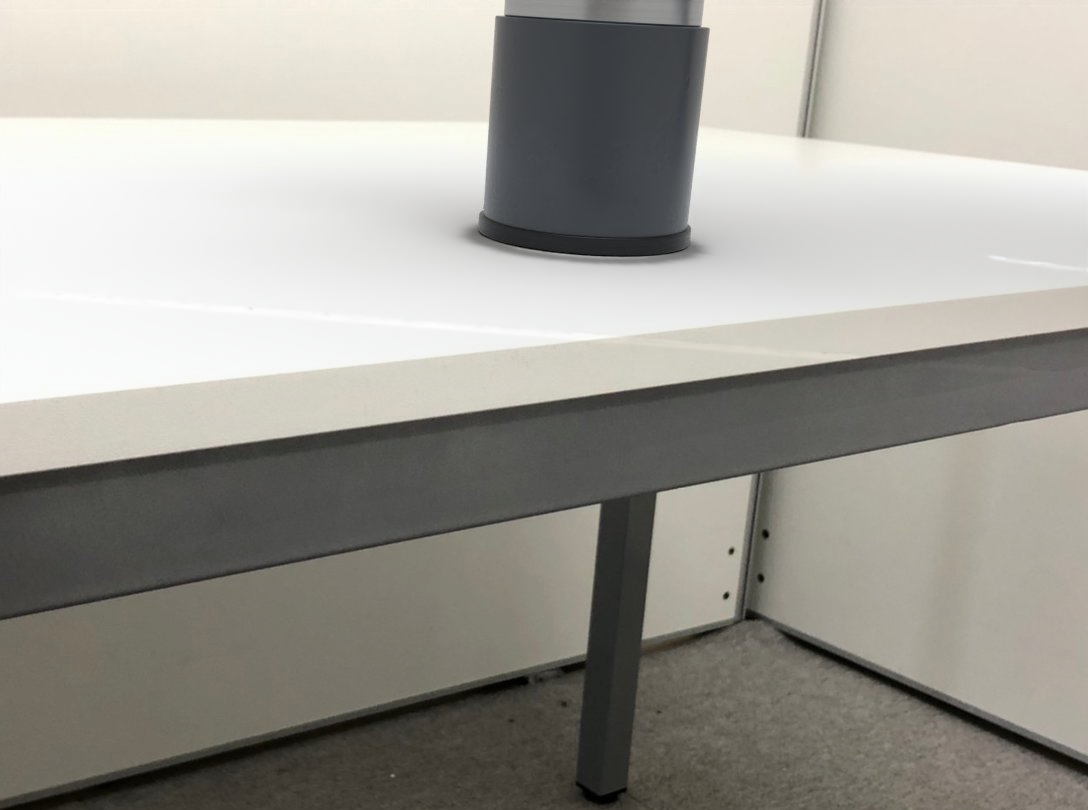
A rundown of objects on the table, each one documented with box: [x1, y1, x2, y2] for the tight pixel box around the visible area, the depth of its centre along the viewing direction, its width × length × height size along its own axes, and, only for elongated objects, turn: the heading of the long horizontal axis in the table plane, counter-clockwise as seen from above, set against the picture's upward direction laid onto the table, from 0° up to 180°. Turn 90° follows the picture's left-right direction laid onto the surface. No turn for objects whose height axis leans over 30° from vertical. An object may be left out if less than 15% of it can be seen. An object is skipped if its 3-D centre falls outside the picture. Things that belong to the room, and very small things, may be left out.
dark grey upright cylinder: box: [477, 0, 711, 257], centre depth 63 cm, size 10×10×12 cm
